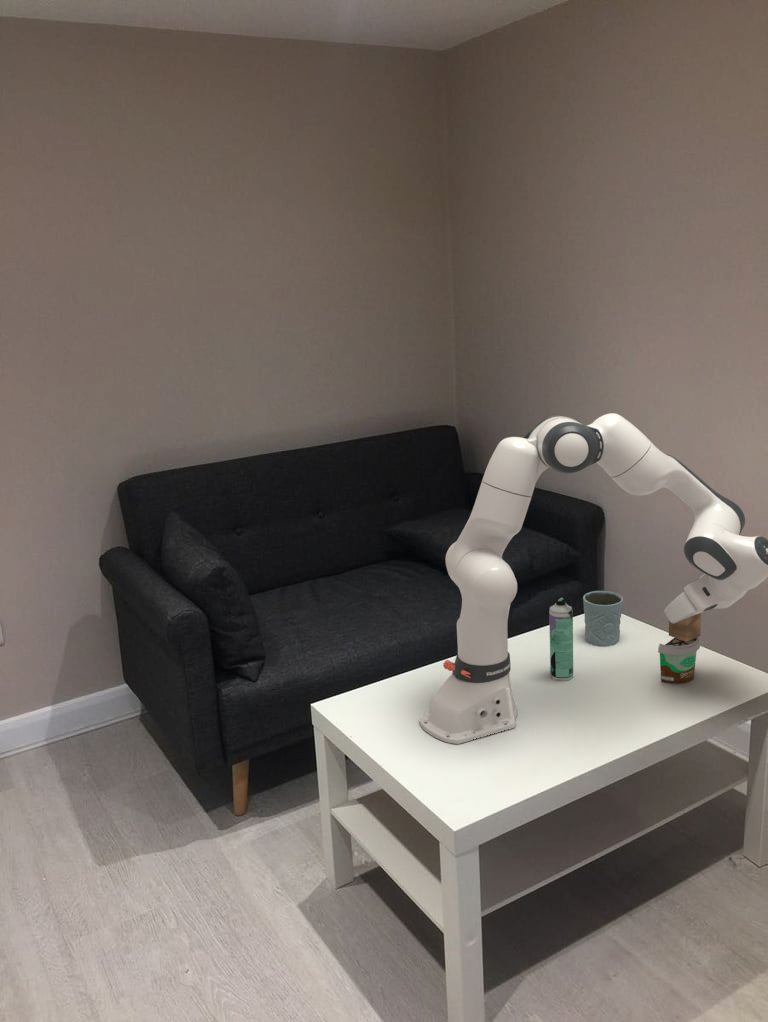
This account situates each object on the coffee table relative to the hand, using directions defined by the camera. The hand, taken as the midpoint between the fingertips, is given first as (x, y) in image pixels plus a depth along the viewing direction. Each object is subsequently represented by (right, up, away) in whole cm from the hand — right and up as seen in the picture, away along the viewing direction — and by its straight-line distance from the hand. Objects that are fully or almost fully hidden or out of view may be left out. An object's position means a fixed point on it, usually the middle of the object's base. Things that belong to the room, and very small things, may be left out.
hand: (682, 616), depth 213 cm
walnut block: (+1, -5, +1) cm, 5 cm away
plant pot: (-12, -10, +28) cm, 32 cm away
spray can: (-26, -16, +9) cm, 32 cm away
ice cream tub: (+1, -15, +4) cm, 16 cm away
